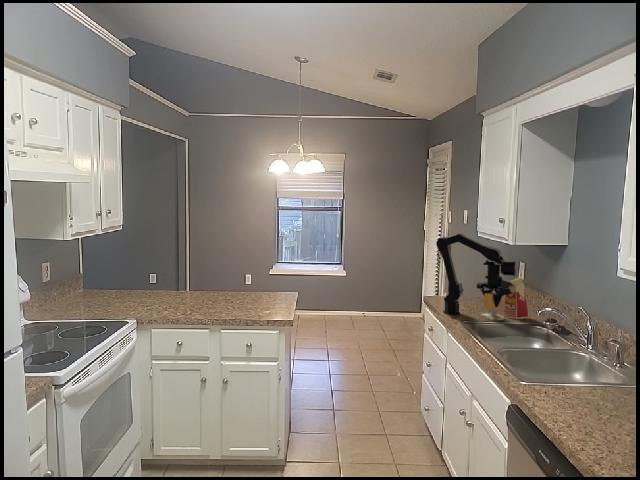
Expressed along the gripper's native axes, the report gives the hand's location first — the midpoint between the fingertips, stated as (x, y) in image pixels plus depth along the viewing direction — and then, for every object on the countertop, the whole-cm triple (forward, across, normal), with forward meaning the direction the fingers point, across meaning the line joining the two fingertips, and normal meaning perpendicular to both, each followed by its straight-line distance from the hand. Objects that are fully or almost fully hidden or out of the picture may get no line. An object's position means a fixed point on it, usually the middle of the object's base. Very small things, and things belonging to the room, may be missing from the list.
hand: (492, 305), depth 234 cm
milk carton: (+6, -2, -12) cm, 14 cm away
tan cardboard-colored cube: (+2, 0, 0) cm, 2 cm away
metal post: (+5, 0, 0) cm, 5 cm away
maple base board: (+6, 0, 0) cm, 6 cm away
